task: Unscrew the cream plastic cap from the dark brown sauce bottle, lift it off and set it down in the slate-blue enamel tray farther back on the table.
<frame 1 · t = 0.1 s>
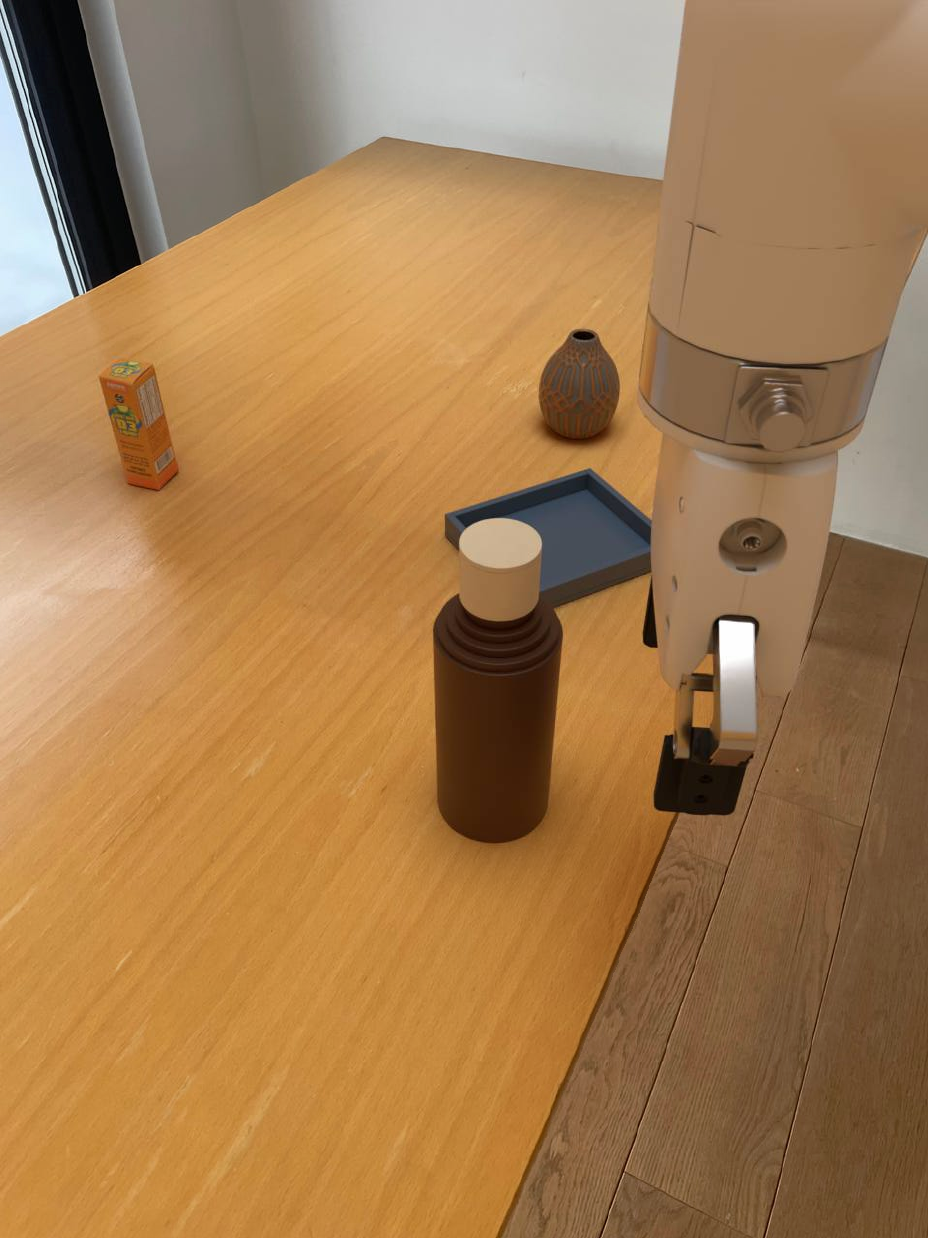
hand: (683, 719, 45), 13 cm above the table, tool pointing down, fingers open, 9 cm apart
supplement box: (153, 480, 83), on the table
cap: (500, 547, 46), point 18 cm above the table, screwed on, not yet turned
mate gourd: (714, 277, 114), on the table
cupcake: (781, 223, 126), on the table
vase: (575, 429, 89), on the table
tray: (557, 549, 76), on the table
bottle: (492, 797, 58), on the table
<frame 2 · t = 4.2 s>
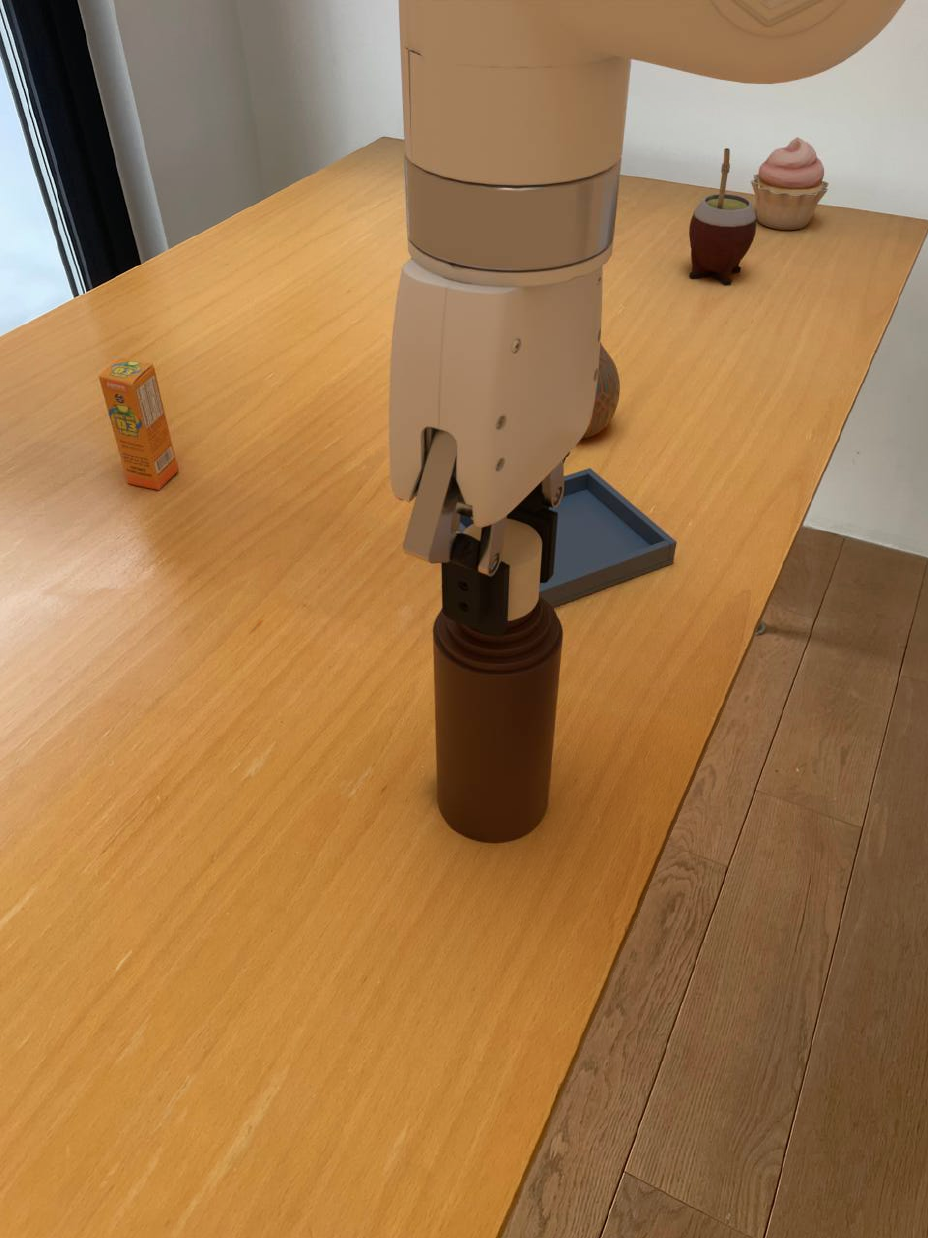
hand: (498, 594, 48), 15 cm above the table, tool pointing down, fingers closed on cap, 3 cm apart
cap: (500, 547, 46), point 18 cm above the table, screwed on, not yet turned, touching gripper
everything else where it was.
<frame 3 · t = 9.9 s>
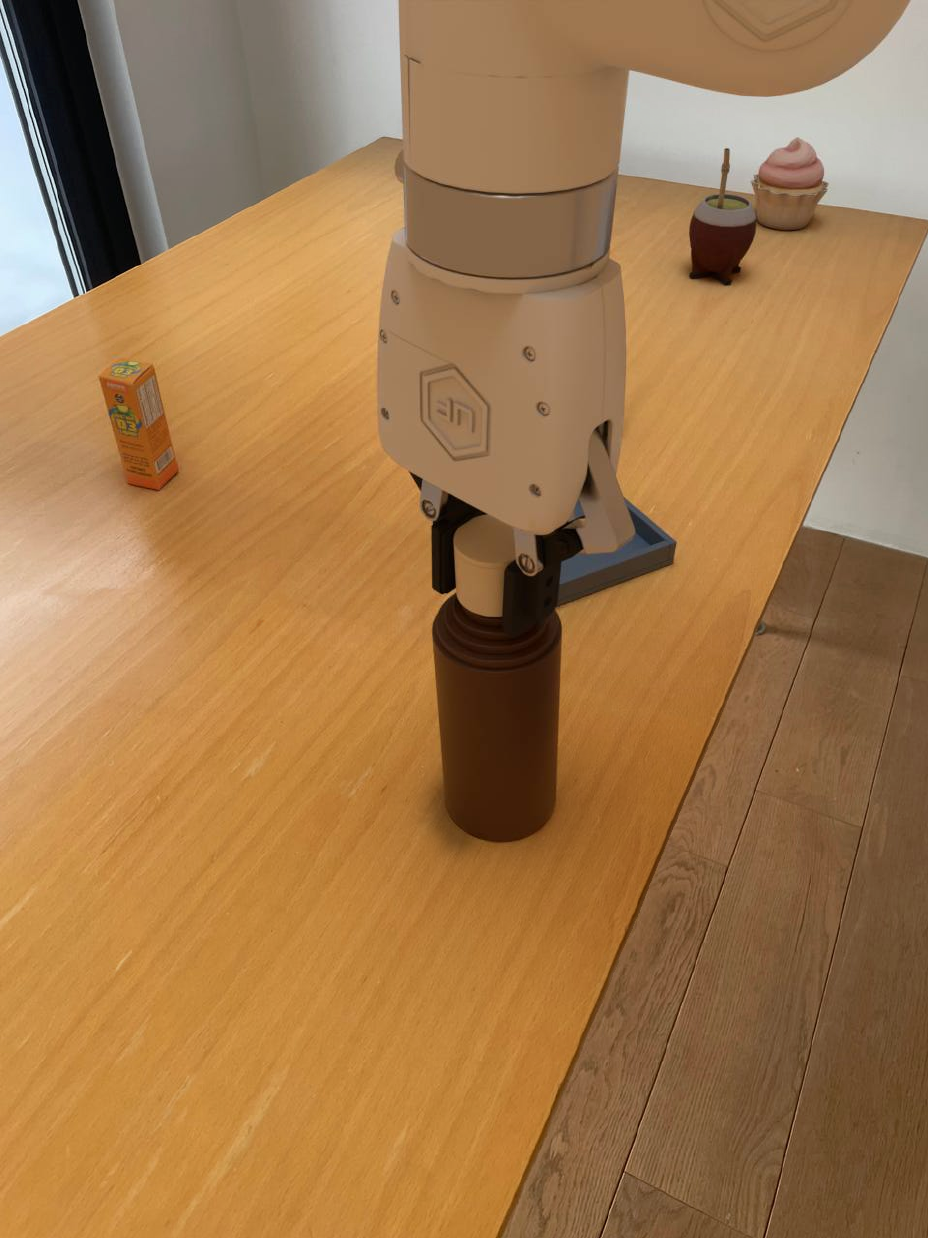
hand: (493, 597, 48), 15 cm above the table, tool pointing down, fingers closed on cap, 3 cm apart
cap: (495, 542, 46), point 18 cm above the table, turned 78° so far, risen 0.1 cm, still on its thread, touching gripper
everything else where it was.
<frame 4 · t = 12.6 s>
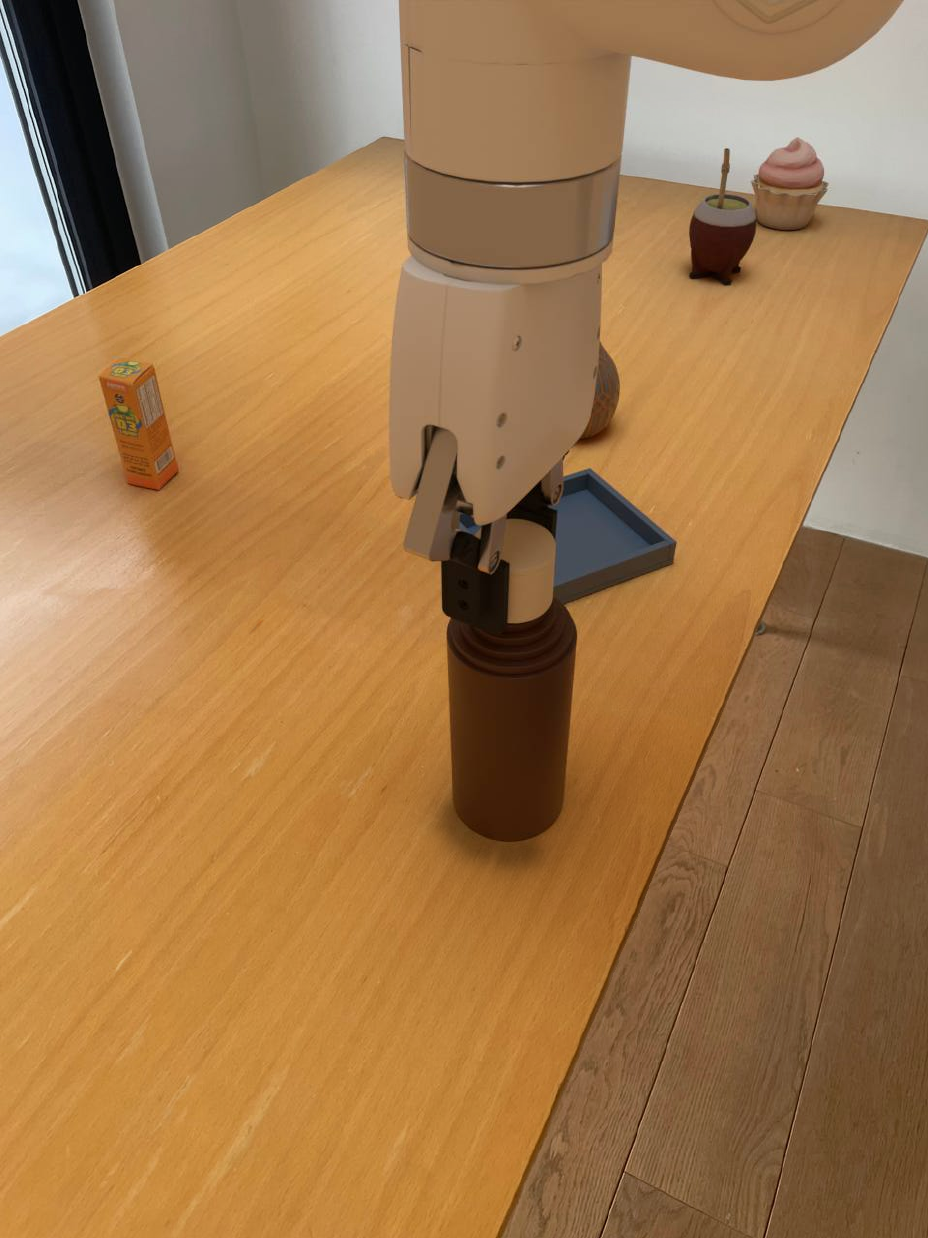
hand: (498, 592, 48), 15 cm above the table, tool pointing down, fingers closed on cap, 3 cm apart
cap: (513, 549, 46), point 18 cm above the table, turned 78° so far, risen 0.1 cm, still on its thread, touching gripper
everything else where it was.
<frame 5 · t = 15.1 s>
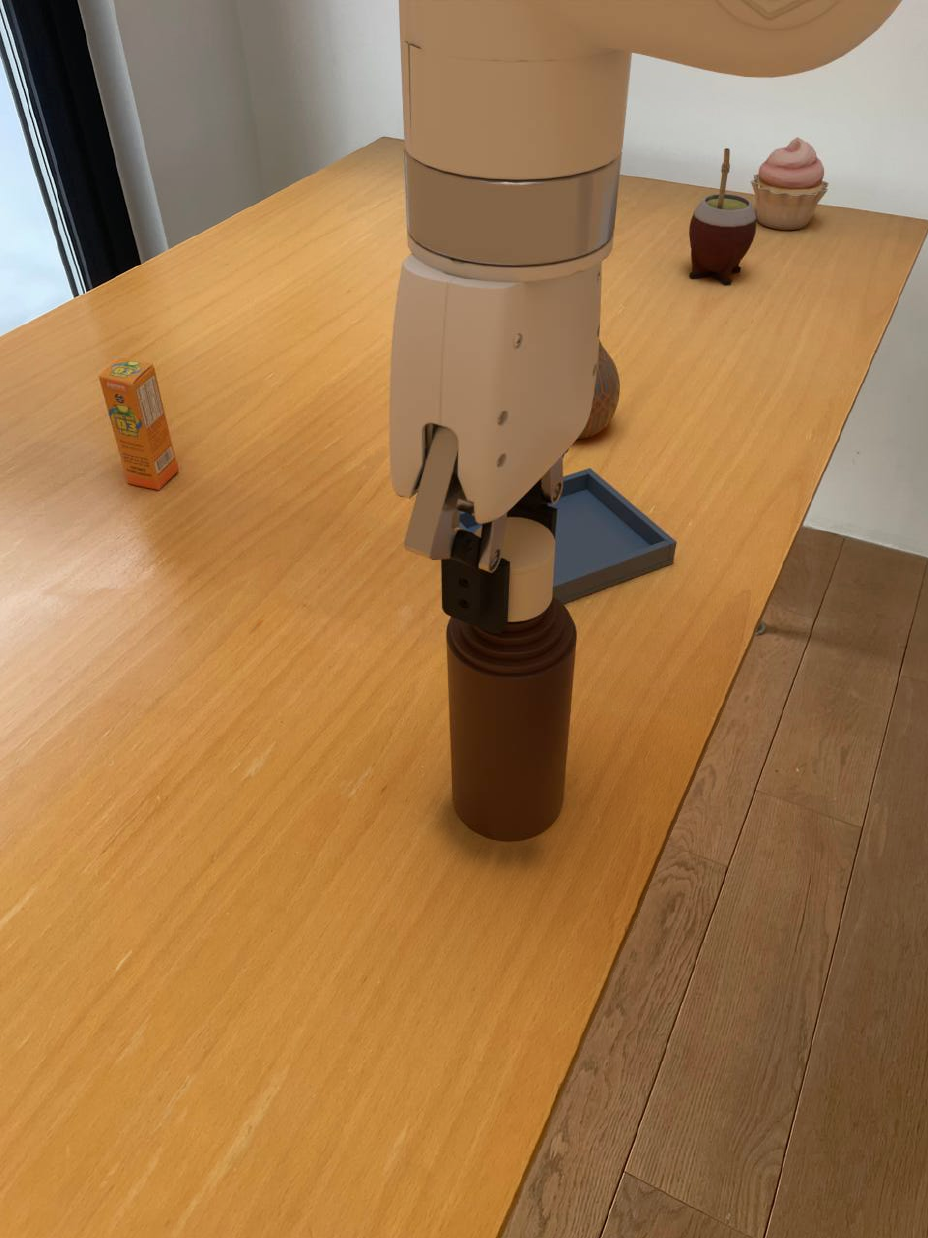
hand: (498, 591, 48), 15 cm above the table, tool pointing down, fingers closed on cap, 3 cm apart
cap: (513, 547, 46), point 18 cm above the table, turned 156° so far, risen 0.2 cm, still on its thread, touching gripper
everything else where it was.
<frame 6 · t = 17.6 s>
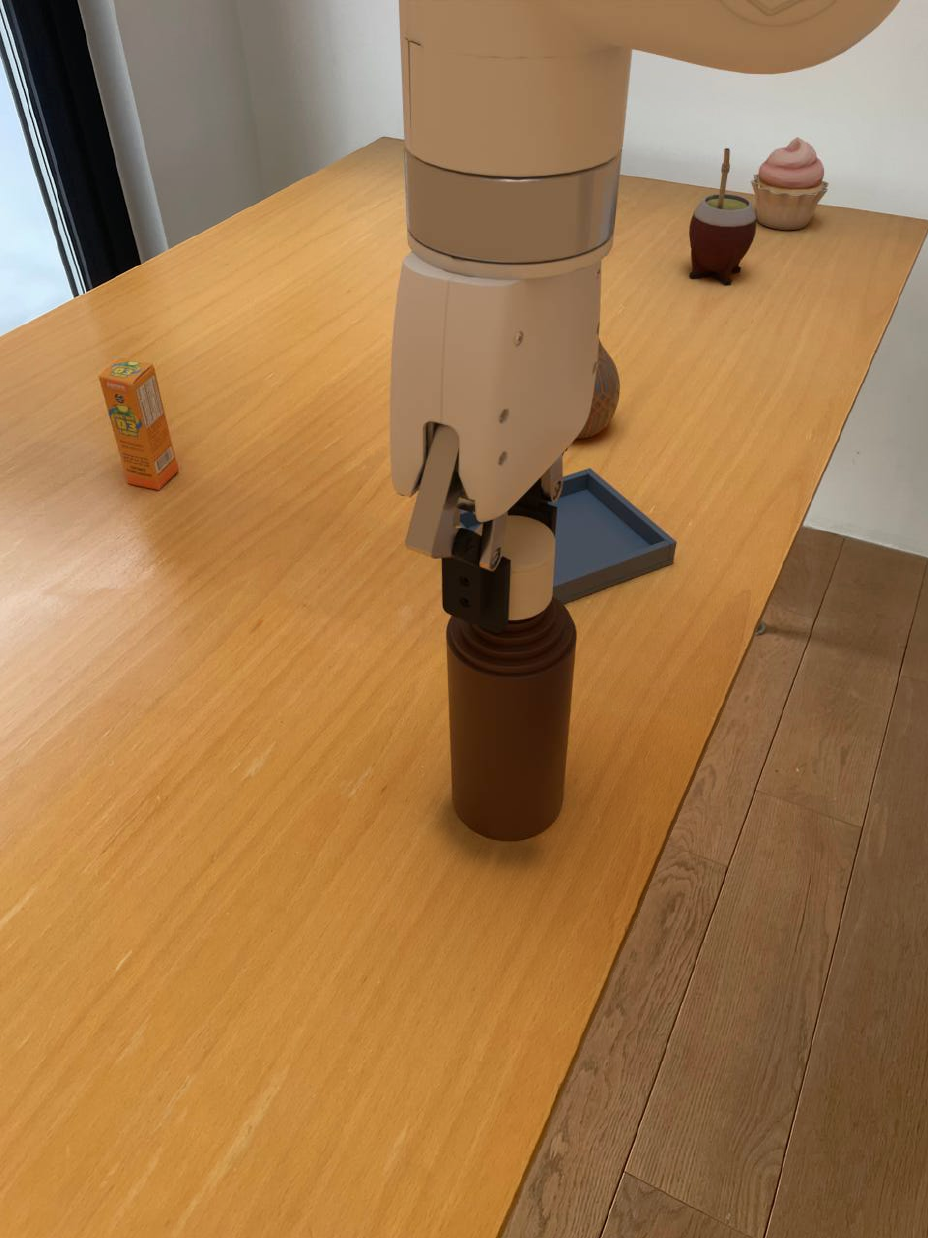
hand: (498, 589, 48), 16 cm above the table, tool pointing down, fingers closed on cap, 3 cm apart
cap: (513, 545, 46), point 18 cm above the table, turned 234° so far, risen 0.3 cm, still on its thread, touching gripper
everything else where it was.
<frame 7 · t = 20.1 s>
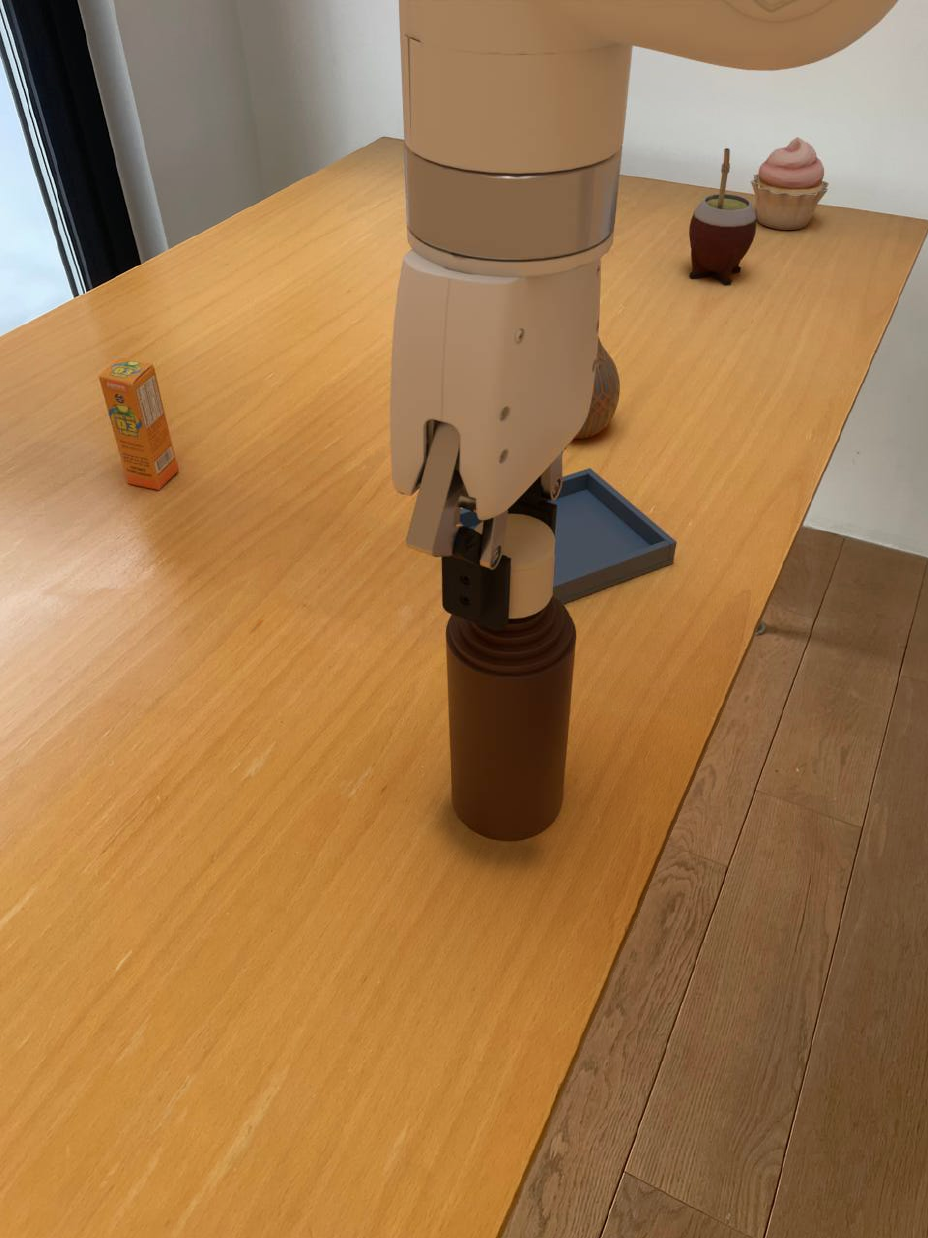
hand: (498, 588, 48), 16 cm above the table, tool pointing down, fingers closed on cap, 3 cm apart
cap: (512, 543, 46), point 19 cm above the table, turned 312° so far, risen 0.3 cm, still on its thread, touching gripper
everything else where it was.
when the fingers open (3 cm above the table, at t = 32.8 s): cap drops 2 cm, resting on tray.
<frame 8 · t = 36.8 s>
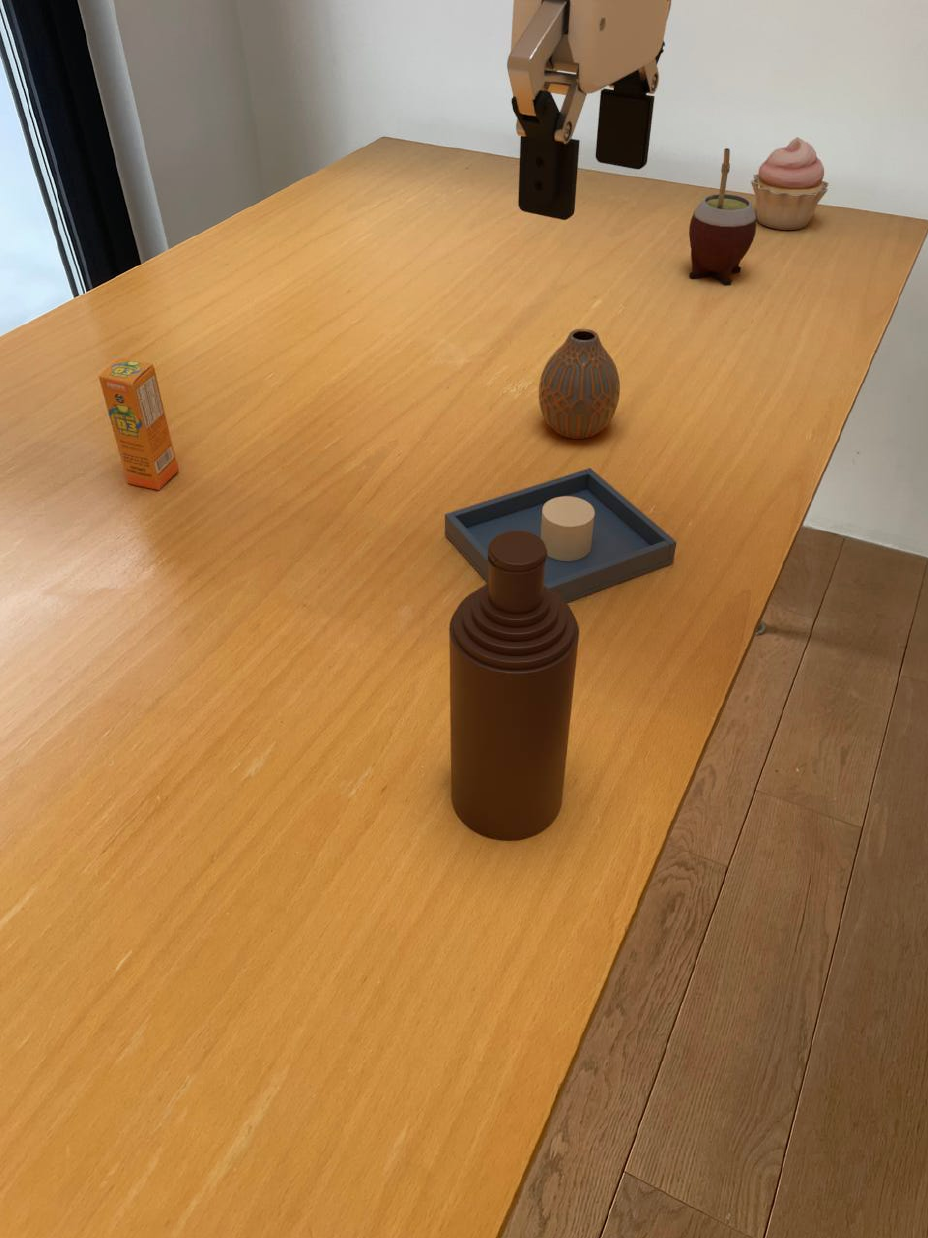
hand: (585, 187, 58), 26 cm above the table, tool pointing down, fingers open, 9 cm apart
cap: (568, 514, 73), point 3 cm above the table, off its thread, touching tray
everything else where it was.
at the end: cap inside the target area in the tray (0.6 cm from its centre), point 3.4 cm above the tray's base; cap point 3.4 cm above the table; the gripper is holding nothing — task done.
